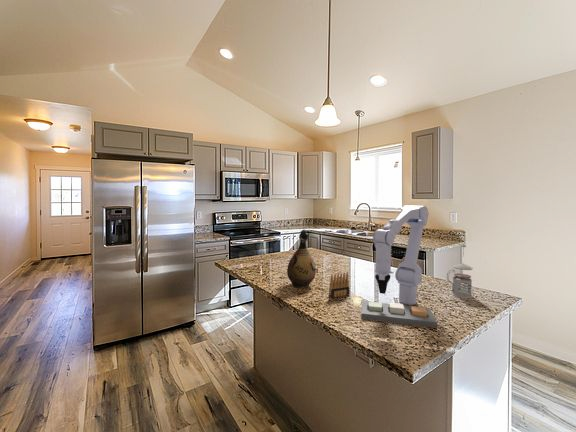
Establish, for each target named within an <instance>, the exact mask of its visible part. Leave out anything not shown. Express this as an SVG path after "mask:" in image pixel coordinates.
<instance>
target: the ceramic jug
mask: <svg viewBox="0 0 576 432" xmlns="http://www.w3.org/2000/svg"><path fill="white" fill-rule="evenodd" d="M298 239H299V241H300V242H299V245H298V247H297V249H296V250H295V252H294V253H293V254H292V256H291V257H290V259H289V261H288V265H287V267H286V268H287V269H286V270H287V271H286V274H287V278H288V279H289V281H290V283H291V287H292V286H293V287H292V288H296V289H306V288H308V287H309V286H310V284H311V282H313V281H314V279H316V278H315V277H316V274H317V270H316V264H315V261H314V258H313V256H312V255H311V253H310V252H309V250H308V247H307V245H306V242H308V239H309V235H308V234H307V230H306V229H302V230H301V231H300V233H299V234H298Z"/></svg>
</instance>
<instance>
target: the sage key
mask: <svg viewBox="0 0 576 432" xmlns="http://www.w3.org/2000/svg"><path fill="white" fill-rule="evenodd" d="M382 303H383V302H378V303H377V302H376V301H369V310H371V311H379V312H382Z"/></svg>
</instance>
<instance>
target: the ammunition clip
mask: <svg viewBox="0 0 576 432" xmlns="http://www.w3.org/2000/svg"><path fill="white" fill-rule="evenodd" d="M349 279H350V278H349V273H348V272H346V273H345V272H343V273H342V272H340V274H339V273H337V275H336V273H334V275H333V274H332V273H331V274H330V280H329V281H330V282H329V289H328V299H334V298H335V299H336V298H340V297H346V296H350V286H349V284H350V281H349Z"/></svg>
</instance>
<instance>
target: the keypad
mask: <svg viewBox="0 0 576 432" xmlns="http://www.w3.org/2000/svg"><path fill="white" fill-rule="evenodd" d="M369 302H370V301H368V300H363V301H362V307H361V314H360V315H361V319H363V320H370V321H377V322H378V321H379V322H385V323H387V322H388V323H393V324H394V323H395V324H402V325H408V326H409V325H410V326H418V327H425V328H434V329H437V328H438V320H436V317H435V315H434V313H433V312H432V310H431V308H430V307H424V306H423V308H425V309H426V311H427V317H423V316H414V315H411V306H412V305H407V304H403V306H404V314H397V313H390V311H389V304H390V303H387V302H381V303H382V312H379V311H371V310H369ZM377 303H379V302H377ZM414 307H417V306H416V305H415V306H414Z"/></svg>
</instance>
